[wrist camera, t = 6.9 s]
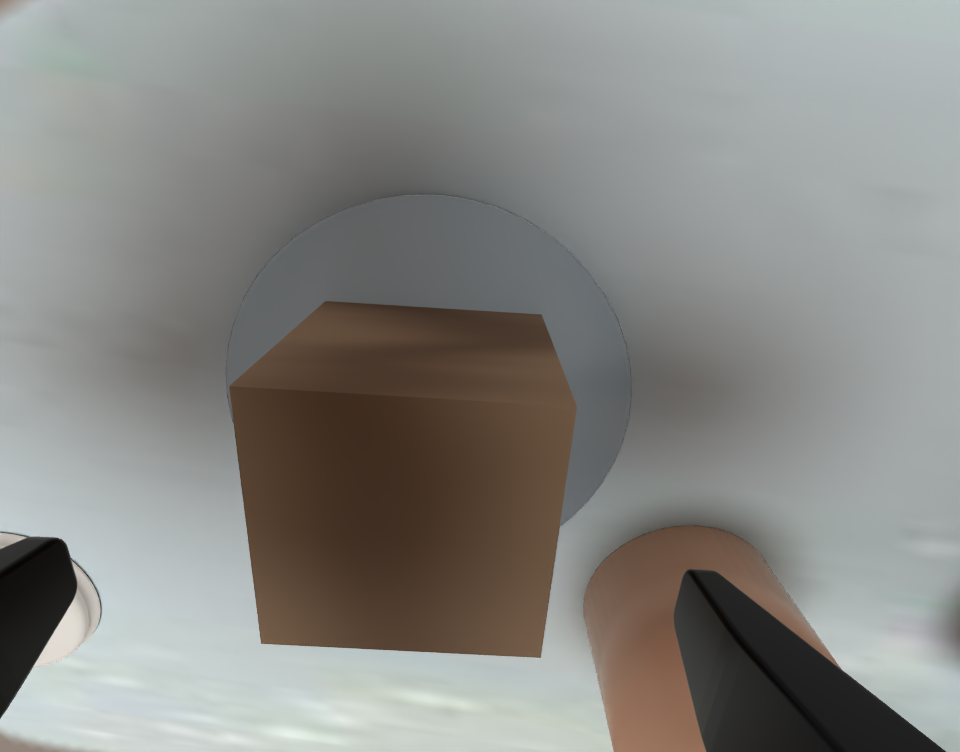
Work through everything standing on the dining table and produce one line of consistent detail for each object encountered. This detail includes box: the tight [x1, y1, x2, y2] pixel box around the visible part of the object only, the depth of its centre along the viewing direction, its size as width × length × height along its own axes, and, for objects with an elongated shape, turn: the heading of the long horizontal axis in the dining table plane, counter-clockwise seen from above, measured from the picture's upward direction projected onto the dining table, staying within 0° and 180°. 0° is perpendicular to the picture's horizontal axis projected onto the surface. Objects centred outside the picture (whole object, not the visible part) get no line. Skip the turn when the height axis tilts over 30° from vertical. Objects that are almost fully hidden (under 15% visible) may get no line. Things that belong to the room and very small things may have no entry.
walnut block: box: [229, 301, 577, 658], centre depth 11 cm, size 5×5×5 cm
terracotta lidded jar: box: [583, 526, 841, 752], centre depth 14 cm, size 6×6×6 cm
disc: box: [226, 194, 631, 526], centre depth 14 cm, size 10×10×1 cm
